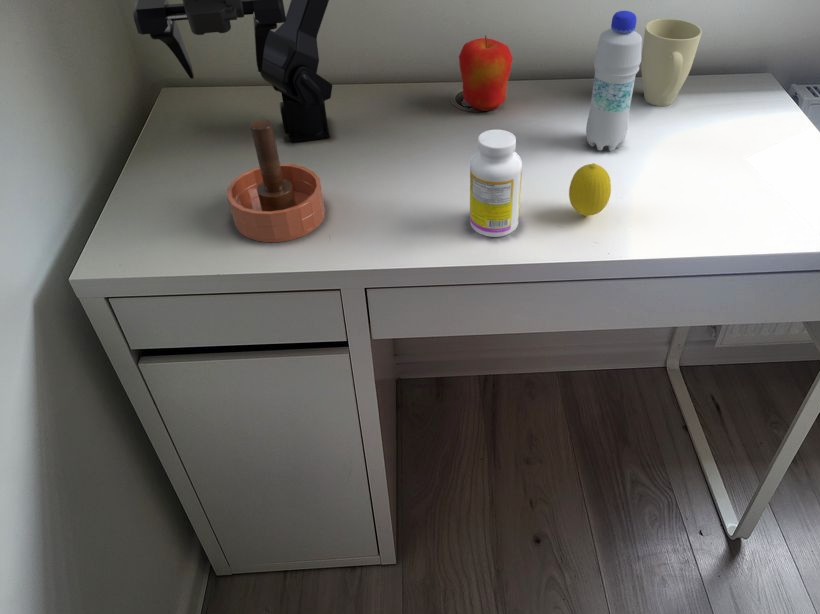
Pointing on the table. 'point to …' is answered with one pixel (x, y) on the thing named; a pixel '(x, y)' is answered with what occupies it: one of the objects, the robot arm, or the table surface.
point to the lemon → (590, 189)
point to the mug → (667, 58)
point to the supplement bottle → (495, 184)
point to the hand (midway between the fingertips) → (226, 74)
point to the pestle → (270, 170)
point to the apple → (485, 72)
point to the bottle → (614, 82)
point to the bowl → (282, 221)
